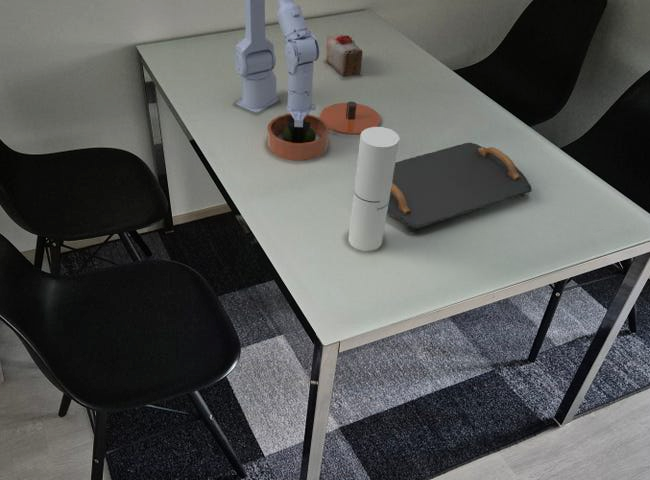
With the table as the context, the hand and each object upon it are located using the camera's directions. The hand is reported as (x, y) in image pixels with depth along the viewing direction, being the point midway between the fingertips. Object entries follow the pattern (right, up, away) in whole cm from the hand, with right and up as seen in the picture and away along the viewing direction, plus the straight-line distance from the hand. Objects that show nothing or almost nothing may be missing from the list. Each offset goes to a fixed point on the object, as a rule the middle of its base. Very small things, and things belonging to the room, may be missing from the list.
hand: (298, 138), depth 161 cm
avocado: (0, -1, +1) cm, 2 cm away
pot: (0, -2, +1) cm, 2 cm away
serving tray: (+34, -15, -11) cm, 39 cm away
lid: (+14, +7, +11) cm, 19 cm away
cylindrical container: (+14, -27, -25) cm, 39 cm away
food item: (+14, +28, +35) cm, 47 cm away
